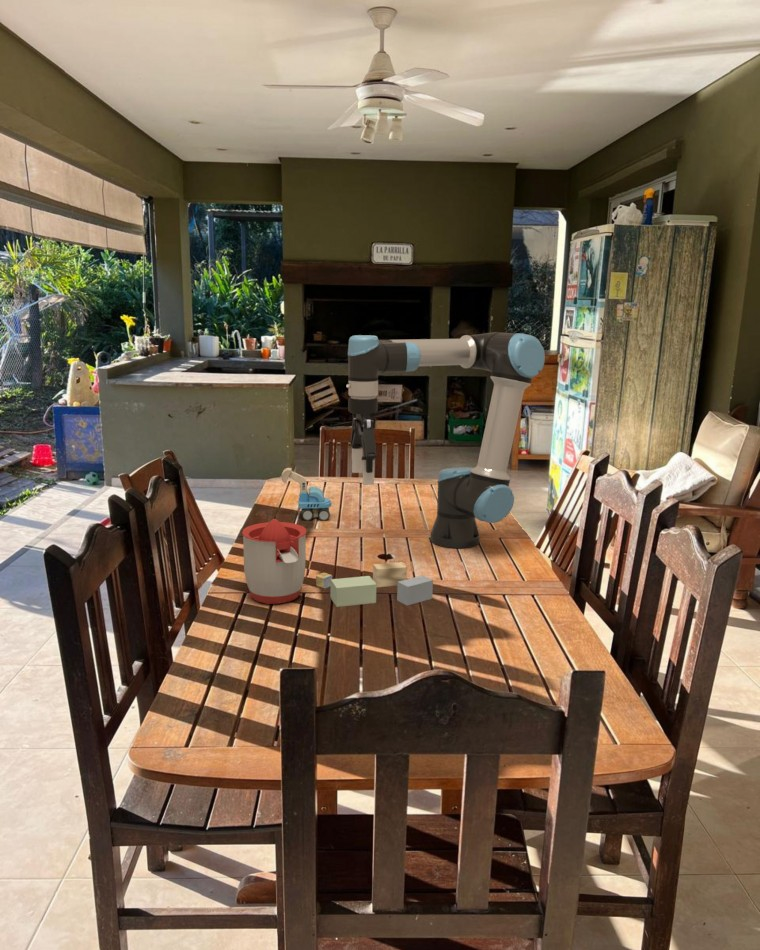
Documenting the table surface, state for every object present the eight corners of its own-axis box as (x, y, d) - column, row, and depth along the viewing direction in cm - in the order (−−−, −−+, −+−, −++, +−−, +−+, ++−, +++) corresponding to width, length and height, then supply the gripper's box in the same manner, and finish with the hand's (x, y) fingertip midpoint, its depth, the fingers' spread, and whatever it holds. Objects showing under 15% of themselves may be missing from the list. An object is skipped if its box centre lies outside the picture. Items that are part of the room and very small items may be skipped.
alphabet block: (324, 589, 193) (324, 578, 193) (315, 586, 195) (315, 574, 195) (332, 586, 196) (332, 575, 195) (324, 583, 198) (324, 571, 197)
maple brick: (401, 579, 201) (402, 562, 200) (406, 585, 197) (406, 567, 196) (372, 582, 199) (373, 564, 198) (376, 587, 195) (377, 569, 194)
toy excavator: (282, 514, 260) (282, 465, 256) (331, 514, 261) (331, 465, 257) (281, 521, 251) (281, 471, 248) (331, 521, 253) (332, 471, 249)
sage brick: (368, 594, 191) (369, 575, 190) (376, 603, 185) (376, 584, 184) (330, 598, 188) (330, 579, 187) (336, 607, 182) (336, 588, 181)
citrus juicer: (261, 616, 176) (260, 533, 171) (233, 591, 190) (231, 515, 186) (321, 603, 184) (321, 524, 180) (290, 580, 198) (289, 507, 194)
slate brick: (421, 594, 192) (422, 575, 190) (432, 599, 188) (432, 580, 187) (397, 600, 187) (397, 581, 186) (407, 606, 184) (407, 586, 183)
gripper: (339, 391, 203) (339, 468, 208) (358, 404, 180) (358, 490, 184) (366, 390, 205) (366, 467, 210) (389, 403, 181) (388, 489, 186)
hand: (362, 478), depth 197 cm, fingers open, 13 cm apart
